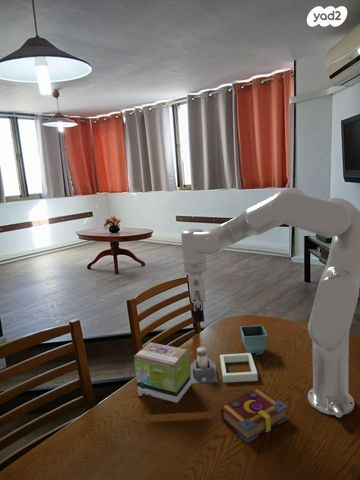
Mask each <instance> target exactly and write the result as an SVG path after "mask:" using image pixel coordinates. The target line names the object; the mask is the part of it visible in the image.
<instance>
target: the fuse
mask: <svg viewBox="0 0 360 480" xmlns="http://www.w3.org/2000/svg"><path fill="white" fill-rule="evenodd" d="M207 351H208V349H207V347H205V346H199V347H197V348H196V357H197V358H196V360H198V368H208V362H207V359H208V352H207Z"/></svg>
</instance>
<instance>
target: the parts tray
mask: <svg viewBox="0 0 360 480" xmlns="http://www.w3.org/2000/svg"><path fill="white" fill-rule="evenodd" d="M219 359H220V369H221V374H222V382H223V383H224V384H225V383H226V384H227V383H239V382H256V381H257V382H258V381H259V378H258V376H259V375H258V370H257V367H256V365H255V362H254V359H253V355H252V353H247V352H245V353H228V354H219ZM241 362H242V363H243V362H248V364H249V368H250V371H244V372H227V368H226V363H241Z"/></svg>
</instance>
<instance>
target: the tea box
mask: <svg viewBox="0 0 360 480" xmlns="http://www.w3.org/2000/svg"><path fill="white" fill-rule="evenodd" d="M189 359H190V358H189V350H188V349H187V348H183V347H182V348H181V347H177V346H171V345H167V344H166V345H165V344H161V343H156V342H151V341H150V342H148V343H147V344H146V345H145V346H143V348H142V349H140V350H139V351H138V352H137V353H136V354H135V355H133V361H134V362H133V363H134V368H135V378H136V387H137V392H138V393H137V394H138V396H141V397H142V396H143V394H144V395H147V396H151V397H154V398H158V399H161V400H165V401H170V402H173V403H178V402H179V401H180V400H182V397H183V396H184V395H185V394H186V392H187V391H188V390H189V388H190V387H192V385H191V384H192V383H191V382H190V380H191V369H190V360H189Z"/></svg>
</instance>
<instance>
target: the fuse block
mask: <svg viewBox="0 0 360 480" xmlns="http://www.w3.org/2000/svg"><path fill="white" fill-rule="evenodd" d="M207 362H208V368H198V360H197V359H194V361H192V363H190V382H191V384H205V383H218V376H217V375H218V374H217V365H216V362H215V361H213V360H211V358H207Z"/></svg>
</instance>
